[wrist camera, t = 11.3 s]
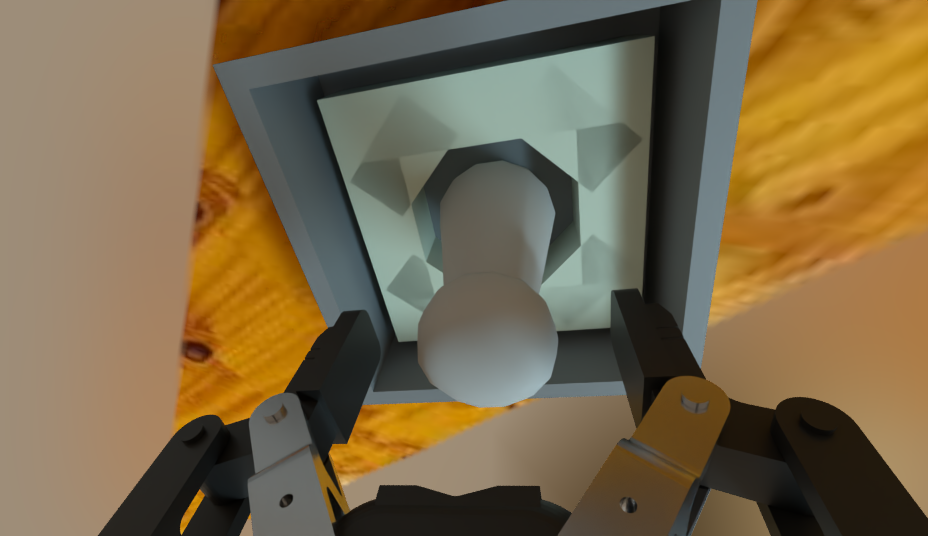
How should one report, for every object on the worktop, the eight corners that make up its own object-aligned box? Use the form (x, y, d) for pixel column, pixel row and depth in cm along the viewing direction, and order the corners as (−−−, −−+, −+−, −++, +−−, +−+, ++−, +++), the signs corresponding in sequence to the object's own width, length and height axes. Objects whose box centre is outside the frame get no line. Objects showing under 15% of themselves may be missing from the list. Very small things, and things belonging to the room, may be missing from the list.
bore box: (299, 52, 21) (212, 64, 15) (679, -30, 17) (765, -57, 11) (392, 327, 30) (361, 404, 24) (655, 308, 26) (697, 392, 20)
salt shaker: (513, 263, 24) (513, 461, 13) (429, 217, 23) (354, 391, 12) (572, 183, 22) (635, 352, 11) (479, 127, 21) (440, 249, 10)
